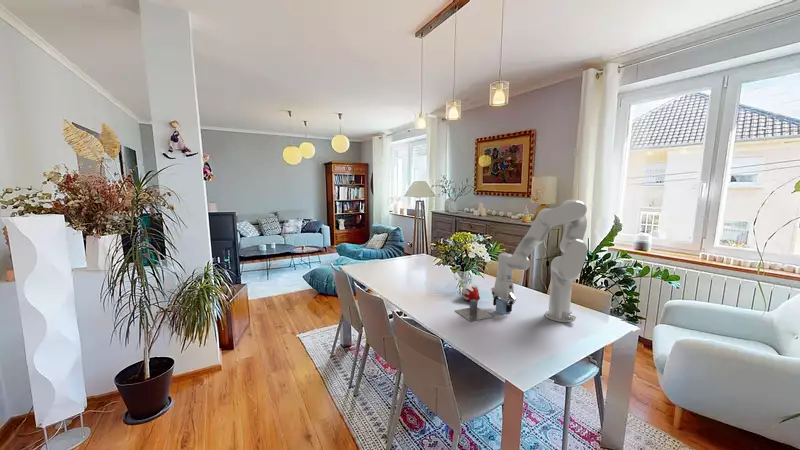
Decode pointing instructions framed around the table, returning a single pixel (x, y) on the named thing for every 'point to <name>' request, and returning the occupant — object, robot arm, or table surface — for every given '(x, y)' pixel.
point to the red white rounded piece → (470, 292)
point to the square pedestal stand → (473, 312)
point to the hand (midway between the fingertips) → (502, 308)
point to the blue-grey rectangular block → (501, 306)
